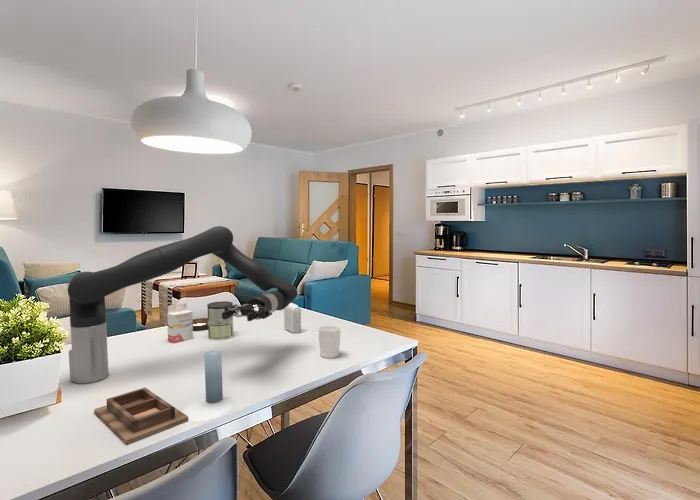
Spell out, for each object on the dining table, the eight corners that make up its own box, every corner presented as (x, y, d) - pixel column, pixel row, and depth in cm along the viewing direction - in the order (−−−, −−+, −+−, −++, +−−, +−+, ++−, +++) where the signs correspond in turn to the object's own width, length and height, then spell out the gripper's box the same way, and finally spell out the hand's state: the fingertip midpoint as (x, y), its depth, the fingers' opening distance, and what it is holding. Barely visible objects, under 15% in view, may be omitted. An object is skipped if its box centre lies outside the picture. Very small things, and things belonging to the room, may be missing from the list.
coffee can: (203, 336, 168) (202, 303, 167) (226, 331, 175) (225, 300, 174) (215, 341, 160) (214, 307, 159) (238, 336, 168) (237, 303, 167)
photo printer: (302, 332, 173) (302, 304, 172) (293, 334, 171) (293, 305, 170) (291, 327, 181) (291, 300, 181) (283, 329, 179) (282, 302, 178)
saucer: (175, 329, 179) (175, 323, 179) (200, 322, 193) (200, 316, 193) (200, 333, 173) (200, 327, 173) (223, 325, 187) (223, 319, 187)
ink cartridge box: (173, 343, 158) (172, 307, 157) (167, 341, 161) (166, 305, 160) (193, 338, 165) (192, 303, 164) (187, 336, 168) (186, 302, 167)
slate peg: (203, 402, 106) (201, 355, 105) (209, 395, 111) (208, 350, 110) (219, 402, 106) (218, 355, 105) (225, 395, 111) (223, 350, 110)
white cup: (344, 354, 144) (344, 328, 143) (329, 360, 138) (329, 332, 137) (329, 350, 149) (329, 324, 148) (314, 355, 143) (313, 328, 143)
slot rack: (94, 413, 101) (93, 399, 101) (151, 394, 111) (150, 382, 111) (126, 444, 86) (125, 429, 86) (188, 420, 97) (188, 406, 97)
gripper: (243, 293, 135) (214, 303, 119) (281, 295, 131) (256, 305, 115) (244, 315, 135) (215, 327, 120) (281, 317, 131) (257, 331, 116)
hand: (235, 317), depth 118 cm, fingers open, 8 cm apart
